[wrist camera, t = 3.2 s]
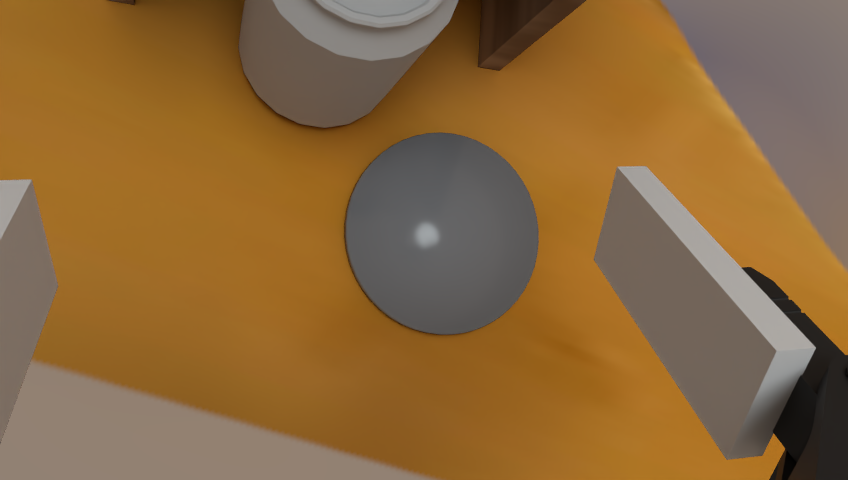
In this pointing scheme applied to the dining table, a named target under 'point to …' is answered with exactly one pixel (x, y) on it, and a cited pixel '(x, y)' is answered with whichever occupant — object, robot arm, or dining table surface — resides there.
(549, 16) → the wooden box
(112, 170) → the dining table surface
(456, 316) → the coaster
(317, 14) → the can
